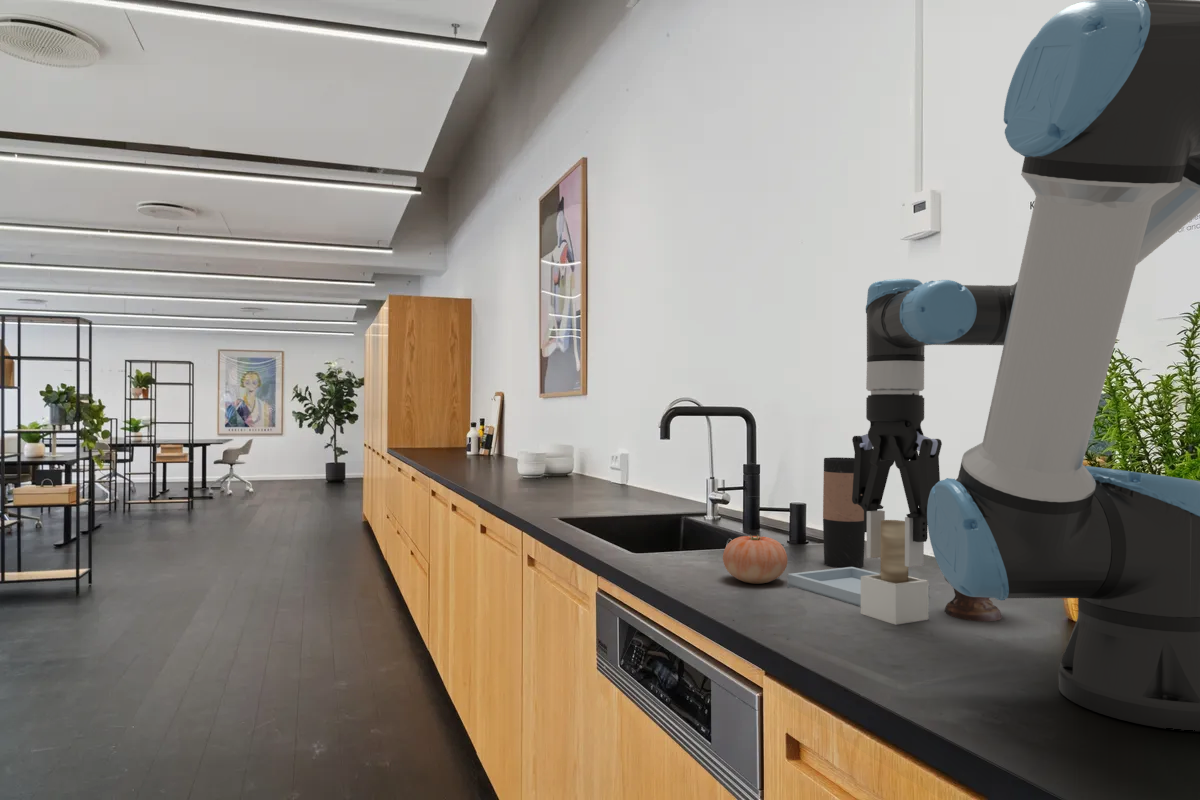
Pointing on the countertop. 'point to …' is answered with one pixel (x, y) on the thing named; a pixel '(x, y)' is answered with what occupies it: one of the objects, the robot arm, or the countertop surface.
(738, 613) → the countertop surface
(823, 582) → the tray
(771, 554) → the pumpkin
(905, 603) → the open box
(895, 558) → the dowel
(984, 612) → the mortar and pestle
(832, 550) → the travel mug
